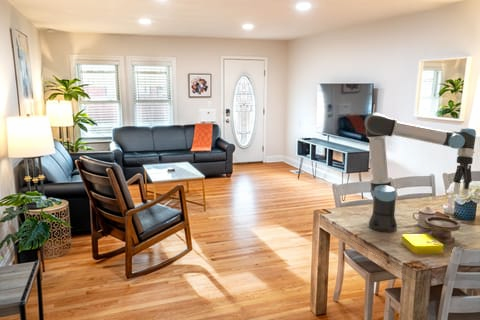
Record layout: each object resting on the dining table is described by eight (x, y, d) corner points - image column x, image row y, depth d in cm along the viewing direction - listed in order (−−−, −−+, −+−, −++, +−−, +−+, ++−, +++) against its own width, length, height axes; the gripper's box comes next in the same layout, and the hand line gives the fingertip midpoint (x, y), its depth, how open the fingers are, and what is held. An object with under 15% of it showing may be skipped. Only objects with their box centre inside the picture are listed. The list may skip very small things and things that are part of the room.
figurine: (442, 213, 237) (444, 190, 234) (443, 209, 245) (445, 187, 242) (455, 215, 233) (457, 192, 231) (456, 211, 241) (458, 188, 238)
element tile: (428, 241, 196) (428, 232, 195) (444, 254, 181) (445, 244, 180) (399, 242, 195) (400, 233, 194) (414, 254, 181) (415, 245, 180)
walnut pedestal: (430, 243, 193) (431, 226, 191) (419, 231, 208) (421, 215, 206) (463, 244, 190) (465, 227, 189) (450, 232, 206) (452, 217, 204)
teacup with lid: (435, 224, 218) (437, 205, 216) (434, 229, 210) (436, 210, 208) (412, 221, 224) (414, 202, 222) (411, 226, 216) (412, 206, 214)
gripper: (481, 156, 194) (476, 196, 194) (464, 158, 219) (459, 194, 218) (465, 154, 196) (460, 194, 196) (450, 156, 220) (445, 192, 220)
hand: (460, 194), depth 207 cm, fingers open, 13 cm apart
